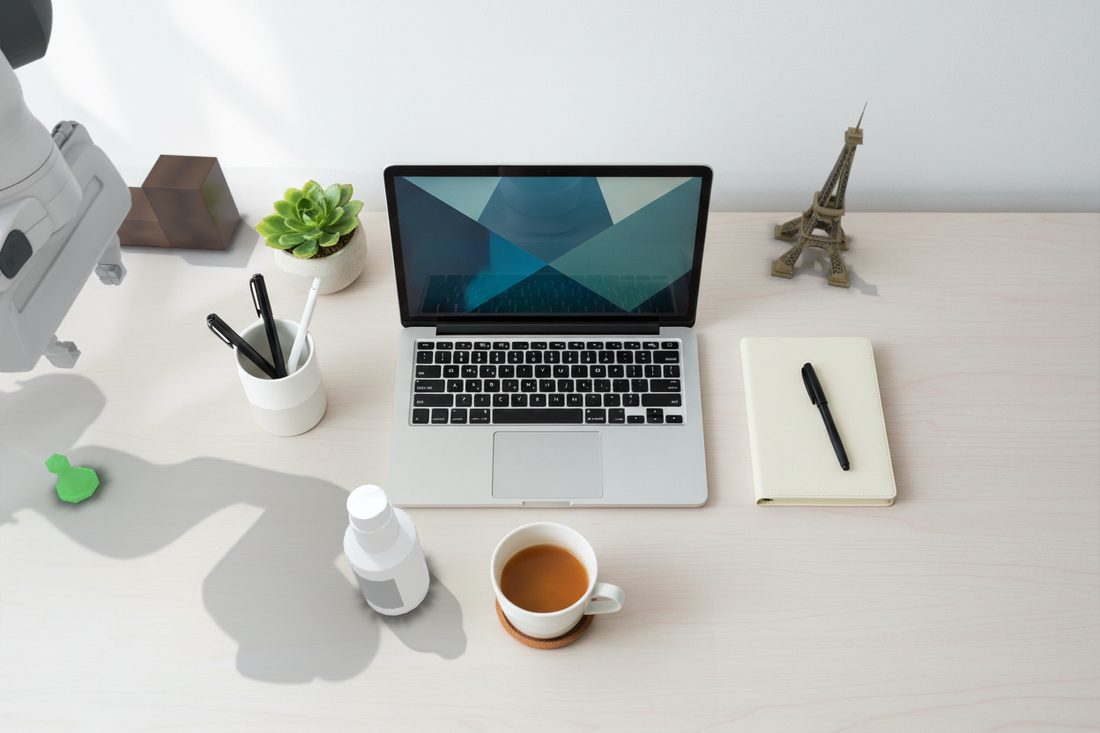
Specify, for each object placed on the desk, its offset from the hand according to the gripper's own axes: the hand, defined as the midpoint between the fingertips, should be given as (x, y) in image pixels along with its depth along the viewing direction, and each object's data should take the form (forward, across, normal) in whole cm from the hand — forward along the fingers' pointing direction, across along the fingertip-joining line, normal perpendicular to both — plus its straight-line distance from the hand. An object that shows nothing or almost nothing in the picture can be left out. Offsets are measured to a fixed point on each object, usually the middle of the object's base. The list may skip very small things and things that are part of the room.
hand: (93, 318), depth 67 cm
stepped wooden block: (+28, -41, -18) cm, 52 cm away
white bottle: (+28, +11, +24) cm, 38 cm away
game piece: (+28, +2, -14) cm, 31 cm away
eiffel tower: (+28, -42, +74) cm, 90 cm away
